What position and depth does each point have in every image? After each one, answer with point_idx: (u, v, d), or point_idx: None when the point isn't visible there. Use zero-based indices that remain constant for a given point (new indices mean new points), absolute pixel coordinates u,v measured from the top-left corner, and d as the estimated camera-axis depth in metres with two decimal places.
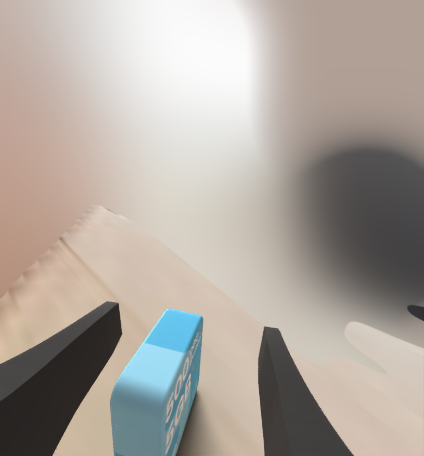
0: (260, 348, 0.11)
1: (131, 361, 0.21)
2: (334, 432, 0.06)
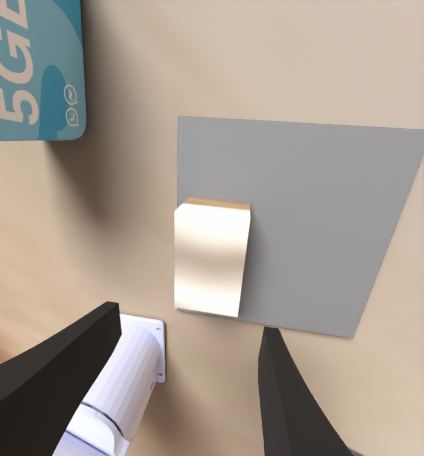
0: (260, 348, 0.11)
1: None
2: (334, 432, 0.06)
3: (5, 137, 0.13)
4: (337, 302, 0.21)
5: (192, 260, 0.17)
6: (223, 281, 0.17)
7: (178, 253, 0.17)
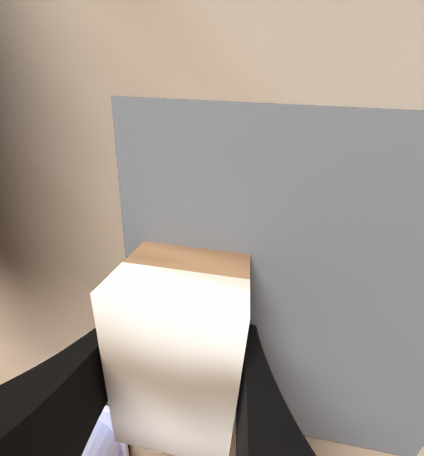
0: None
1: None
2: (294, 424, 0.06)
3: None
4: (394, 410, 0.12)
5: (137, 378, 0.08)
6: (198, 415, 0.09)
7: (109, 365, 0.08)
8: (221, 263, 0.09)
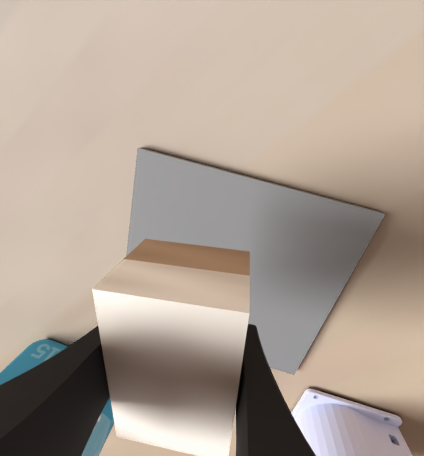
0: None
1: None
2: (294, 424, 0.06)
3: (95, 445, 0.20)
4: (317, 229, 0.17)
5: (138, 373, 0.09)
6: (198, 410, 0.09)
7: (111, 360, 0.09)
8: (221, 260, 0.10)
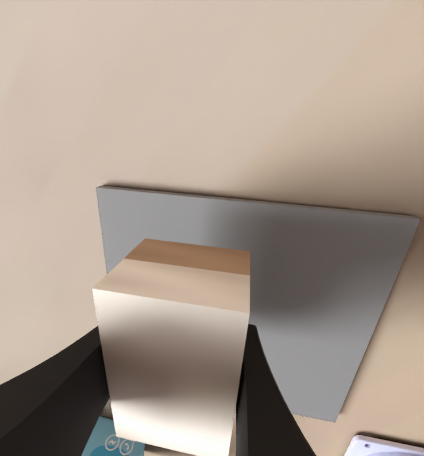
0: None
1: None
2: (294, 424, 0.06)
3: None
4: (332, 250, 0.13)
5: (138, 373, 0.09)
6: (198, 410, 0.09)
7: (111, 360, 0.09)
8: (221, 260, 0.10)
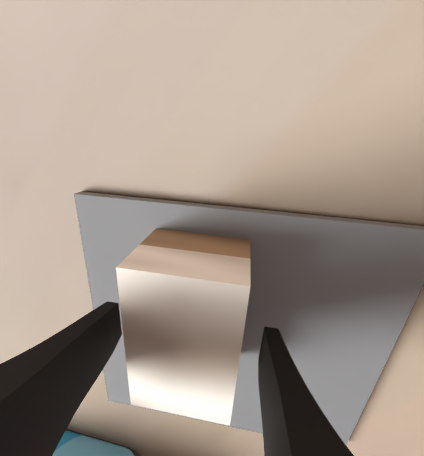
0: (260, 348, 0.11)
1: None
2: (334, 432, 0.06)
3: None
4: (343, 266, 0.11)
5: (153, 343, 0.10)
6: (205, 376, 0.10)
7: (129, 332, 0.10)
8: (225, 246, 0.11)
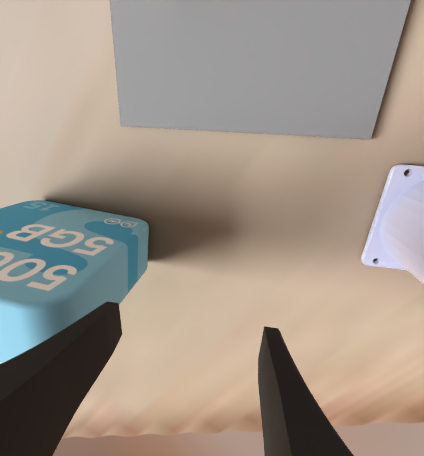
0: (260, 348, 0.11)
1: None
2: (334, 432, 0.06)
3: (109, 258, 0.15)
4: None
5: None
6: None
7: None
8: None
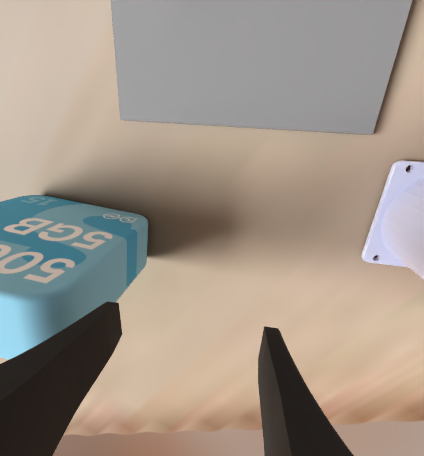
0: (260, 348, 0.11)
1: (5, 357, 0.12)
2: (334, 432, 0.06)
3: (107, 252, 0.14)
4: None
5: None
6: None
7: None
8: None
